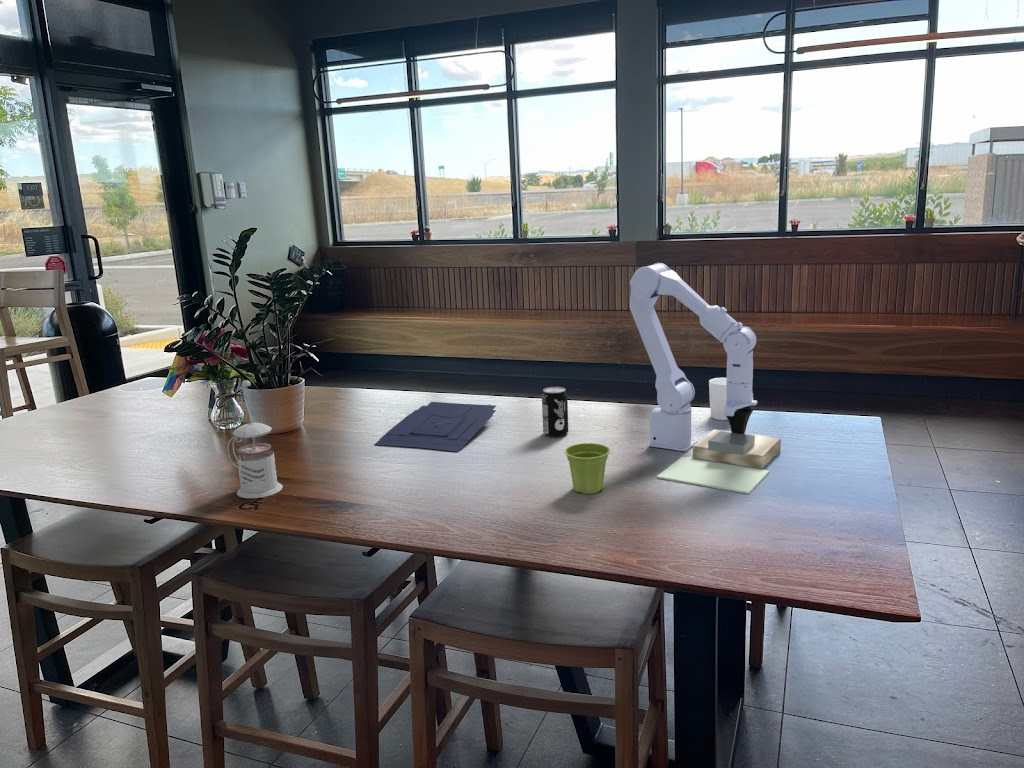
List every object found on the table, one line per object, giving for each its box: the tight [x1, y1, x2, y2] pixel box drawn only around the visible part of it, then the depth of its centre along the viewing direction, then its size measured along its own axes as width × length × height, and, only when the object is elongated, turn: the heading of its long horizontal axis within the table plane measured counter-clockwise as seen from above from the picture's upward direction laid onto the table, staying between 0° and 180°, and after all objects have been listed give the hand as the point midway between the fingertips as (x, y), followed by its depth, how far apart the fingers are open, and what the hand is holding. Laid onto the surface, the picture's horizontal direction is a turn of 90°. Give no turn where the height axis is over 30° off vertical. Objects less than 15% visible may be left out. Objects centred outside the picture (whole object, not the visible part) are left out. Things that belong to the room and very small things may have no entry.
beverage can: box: [541, 386, 569, 438], centre depth 200 cm, size 7×7×12 cm
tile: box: [708, 430, 755, 455], centre depth 176 cm, size 8×8×2 cm
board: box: [692, 428, 782, 470], centre depth 180 cm, size 16×14×3 cm
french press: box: [226, 379, 283, 499], centre depth 170 cm, size 10×12×25 cm
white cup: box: [708, 377, 728, 421], centre depth 209 cm, size 8×8×10 cm
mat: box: [656, 456, 770, 495], centre depth 168 cm, size 20×14×1 cm
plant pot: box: [564, 442, 611, 495], centre depth 162 cm, size 9×9×9 cm
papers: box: [374, 401, 497, 452], centre depth 209 cm, size 24×30×4 cm
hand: (738, 438), depth 180 cm, fingers closed
